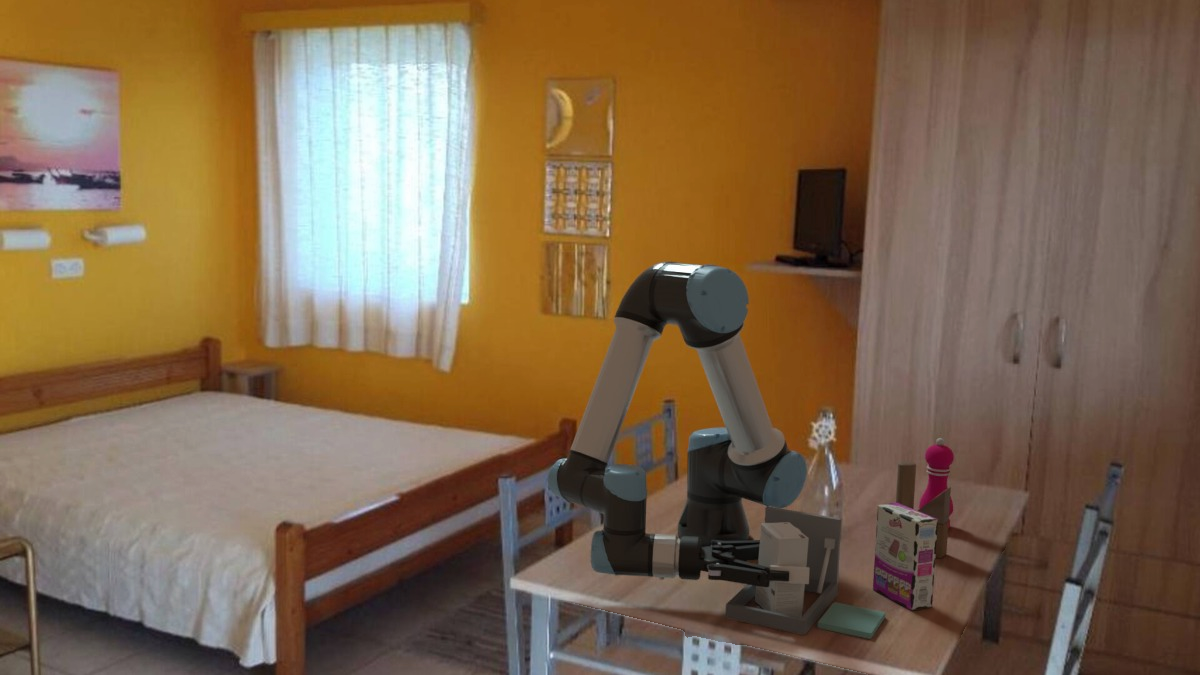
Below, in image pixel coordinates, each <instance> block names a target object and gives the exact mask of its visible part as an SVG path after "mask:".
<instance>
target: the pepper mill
mask: <svg viewBox="0 0 1200 675" xmlns="http://www.w3.org/2000/svg"><path fill="white" fill-rule="evenodd" d="M924 459H925V461H926V463H927V464H928V465H927V466H926V473H927V474H928V475H927V476H928V482H927V485H926V489H925V490H924V491H923V493H922V495H921V497H920V500H919V504H918V510H919V509H921V508H922V507H923V506H925V505H926V504H927V503H929V502H930V501H931V500H933V499H934V498H935V497H937V496H938V495H939V494H941V493H942V492H943V491H945V490H946V489H948V488H949V487H948V477H949V476H950V475H951V467H950V466H951V465H952V464H954V460H955V456H954V452H953V449H951V448H950V447H949V446H947V445H945V439H944V438H942V437H938V438H937V439H936V441H935V444H932V445H931V446H929V447H928V448H927V449H926V450H925V454H924ZM953 513H954V502H953V500H952V497H951V495H950V509H949V517H950V516H951V515H952V514H953ZM948 522H949V524H948V530H949V529H950V528H951V519H950V518H949V520H948Z"/></svg>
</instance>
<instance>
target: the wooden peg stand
mask: <svg viewBox="0 0 1200 675" xmlns="http://www.w3.org/2000/svg"><path fill="white" fill-rule="evenodd" d="M916 473H917V464H916V463H915V462H912V461H909V460H908V461H907V460H904V461H903V460H902V461H899V462H898V463H897V475H896V476H897V477H896V490H895V493H896V494H895V503H899V504H902V505H904V506H907V507H909V508H912V509H914V507H915V490H916V477H917V476H916ZM951 492H952V488H951V487H950V486H949V487H948V489H946V490H945V491H943V492H942V493H941V494H939V495H938V496H937V497H935V498H934V499H933V500H931V501H930V502H929V503H927V504H926V505H925V506H923V507H922V508H921V509H919V508H918V510H917V511H919V512H921V513H924V514H926V515H929V516H931V517H933V518H936V519H938V527H937V542H936V557H935V558H937V559H942V558H943V557H944V556H946V555H947V553H948V552H947V550H948V538H949V537H948V535H949V529H948V524H949V522H948V520H949V519H950V516H949V509H950V496H951V494H952V493H951ZM914 510H915V509H914ZM945 554H946V555H945Z"/></svg>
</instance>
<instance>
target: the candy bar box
mask: <svg viewBox="0 0 1200 675" xmlns="http://www.w3.org/2000/svg"><path fill="white" fill-rule="evenodd" d="M876 517H877V518H876V533H875V534H876V535H875V545H874V548H875V550H874V561H873V562H874V563H873V565H874V566H873V579H872V580H873V583H872V590H874V591H875V592H877V593H879V594H880V595H882V596H884V597H886V598H888V599H889V600H891V601H894V602H895V603H897V604H899V605H901V606H903V607H905V608H907V609H908V610H910V611H916V610H917V611H918V610H924V609H929V608H933V600H934V598H933V597H934V596H933V595H934V585H935V584H934V583H935V581H934V580H935V571H936V570H935V568H936V558H937V557H936V542H937V527H938V519H936V518H933V517H931V516H929V515H926V514H924V513H921V512H919V511H918V510H917V509H912V508H909V507H907V506H904V505H902V504H899V503H896V502H891V503H884V504H877V515H876Z"/></svg>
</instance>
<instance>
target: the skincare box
mask: <svg viewBox="0 0 1200 675" xmlns="http://www.w3.org/2000/svg"><path fill="white" fill-rule="evenodd" d="M759 540H760V546H759V558H758V561H757V565H761V566H765V567H769V568H770V565H779V566H795V567H806V565H807V553H808V541H809V538H808V537H806V536H805V535H804V534H803V533H802V532H801V531H800V530H799V529H798V528H796V527H794V526H793V525H792V524H791V523H789V522H779V523H765V522H761V523H760V538H759ZM804 588H805V584H797V583H782V582H770V583H769V587H761V586H756V594H755V596H754V601H755V603H756V604H757V605H758V606H760V608H761V609H763V610H768V611H773V612H777V613H782V614H787V615H791V616H796V617H802V616H803V608H804V598H805V591H804Z"/></svg>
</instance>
